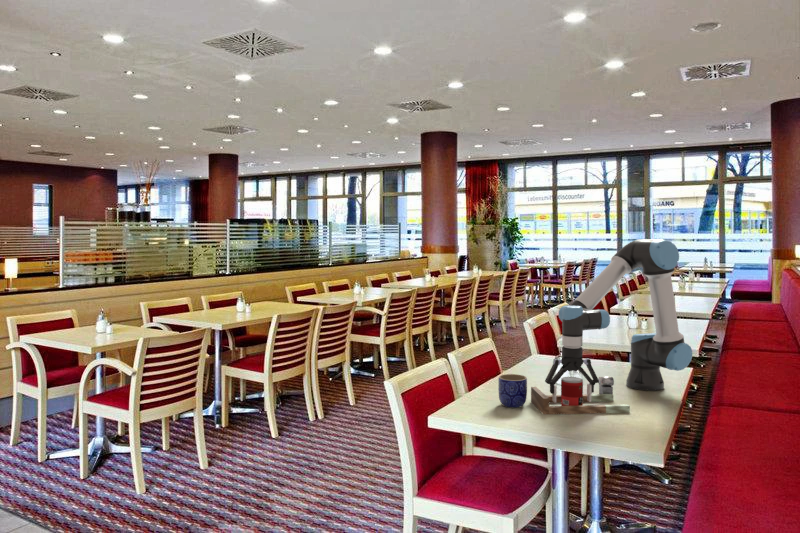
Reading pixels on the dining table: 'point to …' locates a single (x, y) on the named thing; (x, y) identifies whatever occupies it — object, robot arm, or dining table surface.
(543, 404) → the bay
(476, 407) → the dining table surface
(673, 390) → the dining table surface
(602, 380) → the winch
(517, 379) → the planter
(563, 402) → the canned food
